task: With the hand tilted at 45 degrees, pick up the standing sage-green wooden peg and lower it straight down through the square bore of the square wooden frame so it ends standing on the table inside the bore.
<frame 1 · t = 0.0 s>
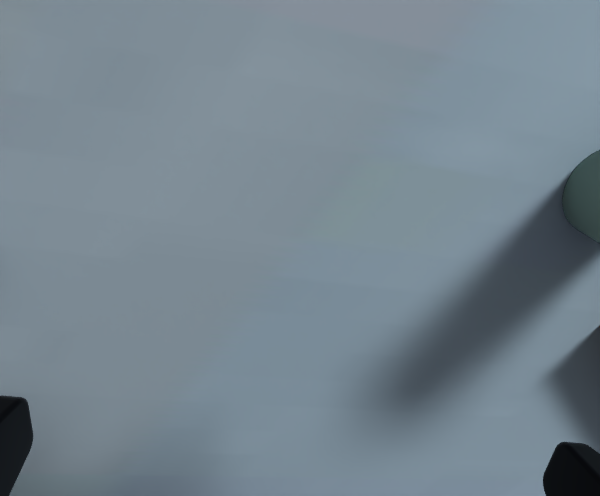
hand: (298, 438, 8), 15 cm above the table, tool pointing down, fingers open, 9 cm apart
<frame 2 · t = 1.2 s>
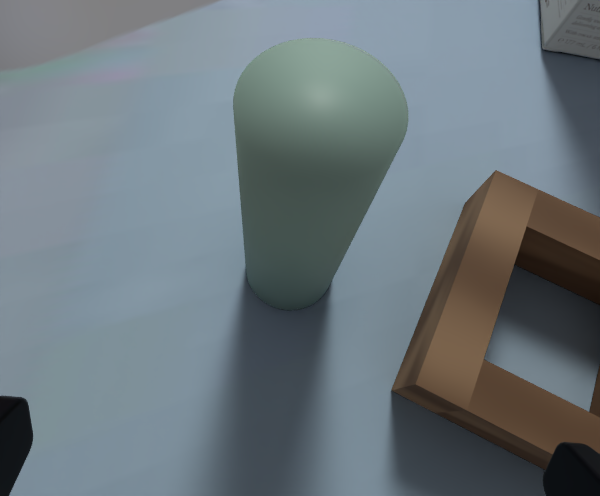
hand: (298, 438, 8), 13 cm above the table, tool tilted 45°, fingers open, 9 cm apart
sage peg: (289, 267, 23), on the table
square wooden frame: (533, 338, 23), on the table
skincare box: (594, 33, 31), on the table
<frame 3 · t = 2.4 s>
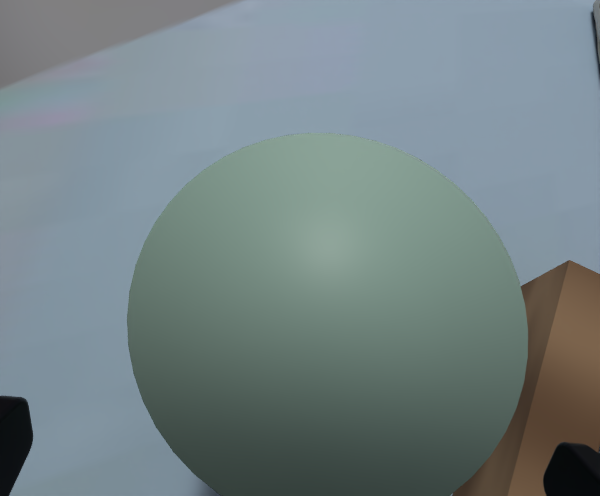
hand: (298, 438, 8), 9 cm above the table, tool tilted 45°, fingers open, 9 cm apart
sage peg: (281, 390, 16), on the table
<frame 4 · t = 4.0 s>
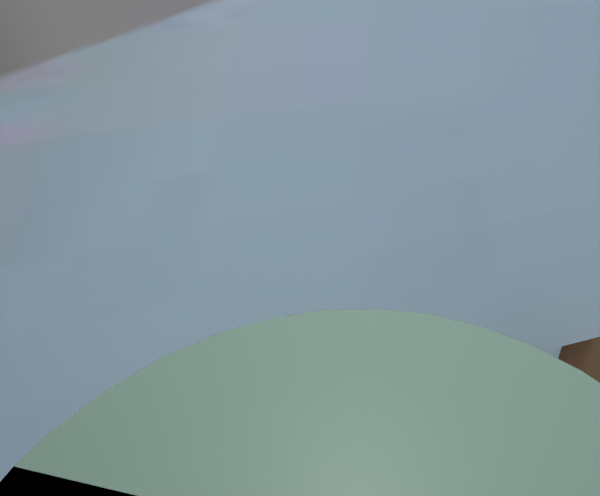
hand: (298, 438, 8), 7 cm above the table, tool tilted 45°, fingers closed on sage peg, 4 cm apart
sage peg: (275, 483, 13), on the table, touching gripper
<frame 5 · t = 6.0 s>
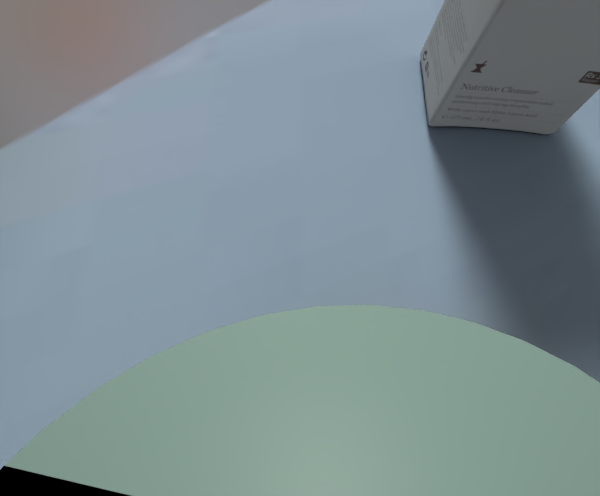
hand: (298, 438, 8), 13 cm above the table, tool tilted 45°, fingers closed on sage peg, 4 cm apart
sage peg: (275, 482, 13), point 7 cm above the table, touching gripper
skincare box: (484, 95, 28), on the table
when the fingers open (8 cm above the table, at t = 8.3 s): sage peg drops 1 cm, resting in square wooden frame.
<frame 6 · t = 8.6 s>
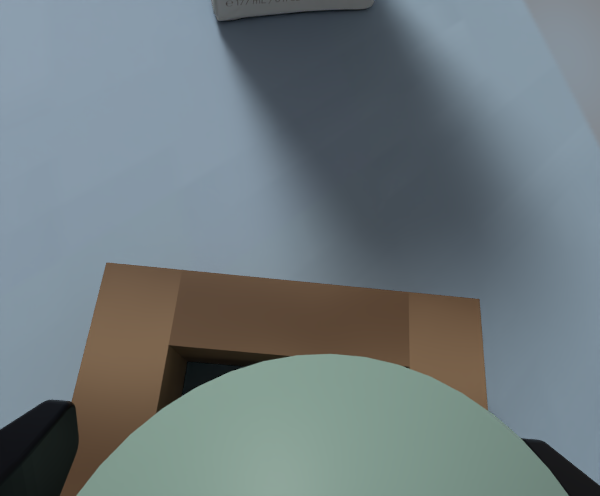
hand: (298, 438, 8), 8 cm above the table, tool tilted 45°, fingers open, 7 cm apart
sage peg: (274, 478, 15), resting in square wooden frame
square wooden frame: (275, 477, 15), on the table
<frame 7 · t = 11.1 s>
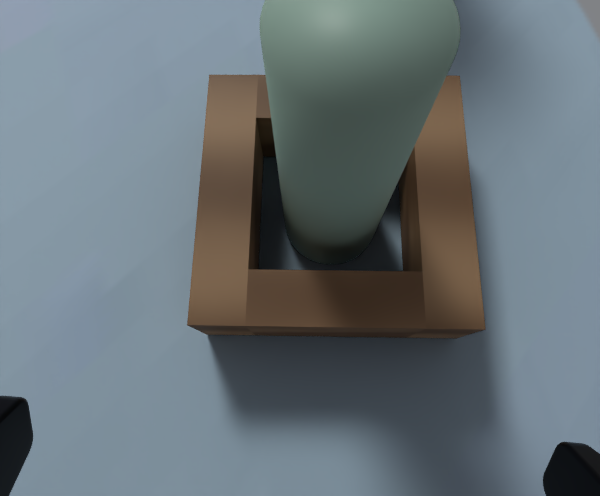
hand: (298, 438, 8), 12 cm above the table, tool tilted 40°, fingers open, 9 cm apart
sage peg: (330, 220, 22), resting in square wooden frame
square wooden frame: (330, 219, 22), on the table
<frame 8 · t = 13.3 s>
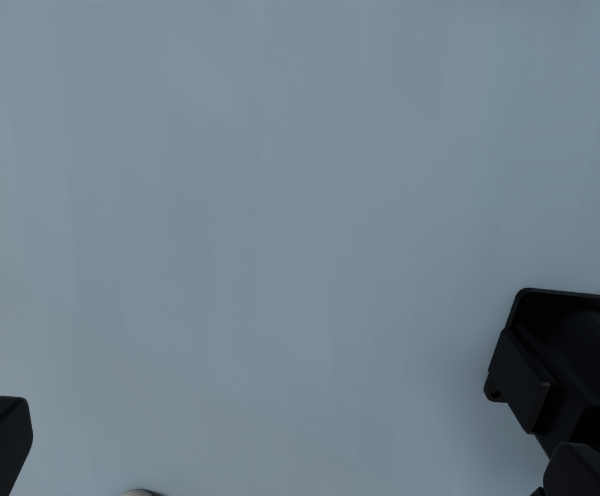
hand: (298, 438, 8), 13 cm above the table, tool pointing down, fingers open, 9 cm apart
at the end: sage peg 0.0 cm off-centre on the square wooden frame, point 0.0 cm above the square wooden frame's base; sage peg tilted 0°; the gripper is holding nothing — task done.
